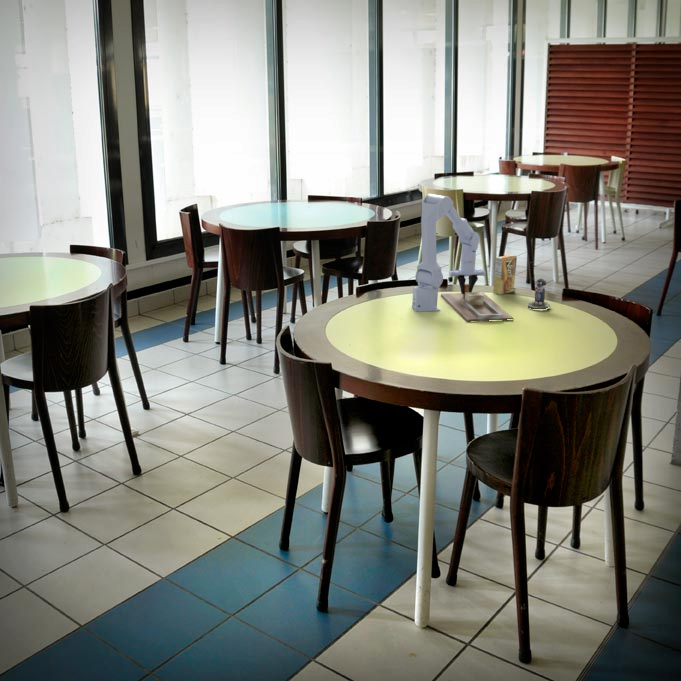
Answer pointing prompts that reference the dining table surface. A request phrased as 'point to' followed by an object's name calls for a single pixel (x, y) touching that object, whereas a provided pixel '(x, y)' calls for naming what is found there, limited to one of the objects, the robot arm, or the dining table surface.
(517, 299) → the dining table surface
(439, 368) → the dining table surface
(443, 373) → the dining table surface
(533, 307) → the figurine
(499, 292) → the candy box
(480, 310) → the thin wooden panel
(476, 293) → the joystick
